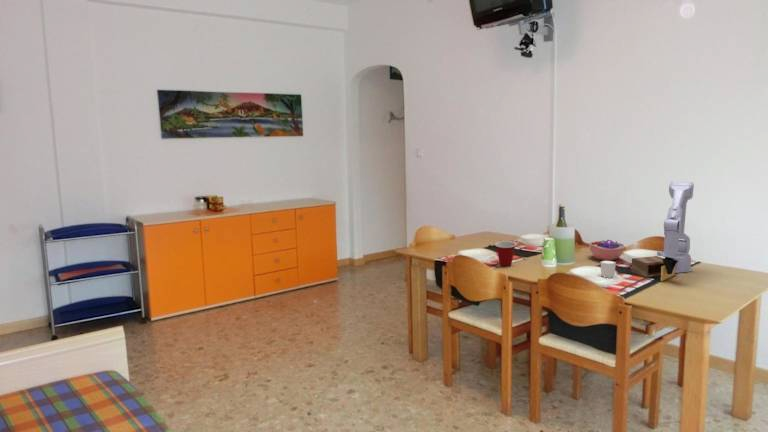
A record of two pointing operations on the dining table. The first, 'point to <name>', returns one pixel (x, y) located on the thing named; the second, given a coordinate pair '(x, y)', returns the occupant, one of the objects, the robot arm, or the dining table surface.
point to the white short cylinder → (608, 268)
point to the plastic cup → (505, 252)
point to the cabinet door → (664, 273)
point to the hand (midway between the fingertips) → (669, 273)
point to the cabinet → (647, 266)
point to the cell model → (606, 250)
